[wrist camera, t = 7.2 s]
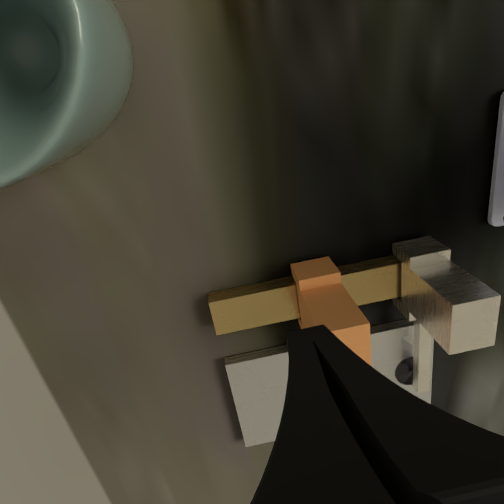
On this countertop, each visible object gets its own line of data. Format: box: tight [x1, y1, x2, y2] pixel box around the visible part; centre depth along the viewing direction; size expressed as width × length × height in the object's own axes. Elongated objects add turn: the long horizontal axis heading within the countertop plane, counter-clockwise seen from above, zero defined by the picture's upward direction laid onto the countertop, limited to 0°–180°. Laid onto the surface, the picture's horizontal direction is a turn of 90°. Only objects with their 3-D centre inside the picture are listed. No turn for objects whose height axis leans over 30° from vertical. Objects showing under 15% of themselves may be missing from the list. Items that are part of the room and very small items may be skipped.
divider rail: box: [208, 236, 501, 393], centre depth 22 cm, size 14×11×6 cm
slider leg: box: [291, 256, 372, 366], centre depth 22 cm, size 2×11×6 cm, turn 10°
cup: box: [0, 0, 134, 188], centre depth 13 cm, size 8×8×10 cm
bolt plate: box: [225, 319, 434, 447], centre depth 27 cm, size 14×8×1 cm, turn 100°
